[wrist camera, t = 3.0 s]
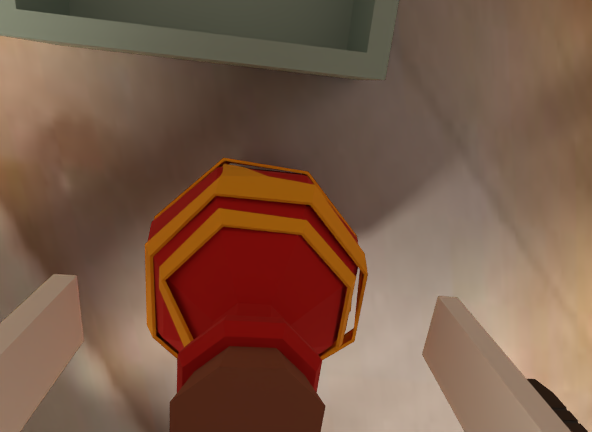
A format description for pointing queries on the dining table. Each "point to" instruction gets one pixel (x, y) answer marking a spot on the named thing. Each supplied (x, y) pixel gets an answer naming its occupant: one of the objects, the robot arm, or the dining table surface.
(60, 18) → the bin
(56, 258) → the dining table surface
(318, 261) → the potion bottle
